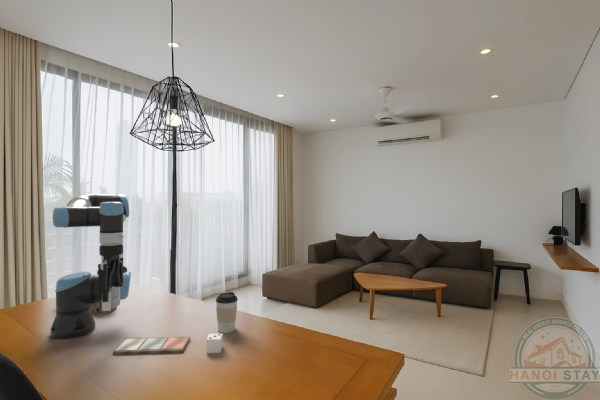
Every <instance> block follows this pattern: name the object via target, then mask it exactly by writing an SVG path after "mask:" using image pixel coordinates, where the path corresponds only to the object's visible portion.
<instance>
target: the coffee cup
mask: <svg viewBox="0 0 600 400" xmlns="http://www.w3.org/2000/svg"><path fill="white" fill-rule="evenodd" d="M215 302H216V303H215V304H216V307H215V309H216V320H217V321H216V322H217V331H218V332H219V333H223V334H228V333H232V332H234V331H235V330H236V320H237V310H238V296H237V295H235V292H232V291H229V292H222V293H220V294H218V295H217V296H216V297H215Z"/></svg>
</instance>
